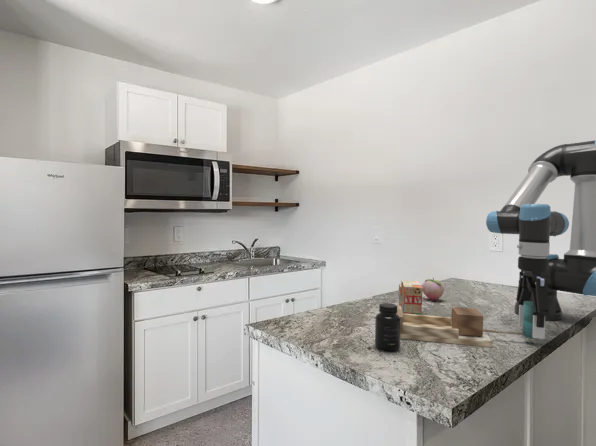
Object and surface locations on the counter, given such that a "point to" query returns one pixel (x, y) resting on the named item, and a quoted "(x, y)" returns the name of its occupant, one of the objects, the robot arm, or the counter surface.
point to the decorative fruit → (433, 289)
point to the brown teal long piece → (472, 321)
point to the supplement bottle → (387, 328)
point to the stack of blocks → (410, 297)
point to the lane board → (436, 330)
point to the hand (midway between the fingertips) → (530, 332)
